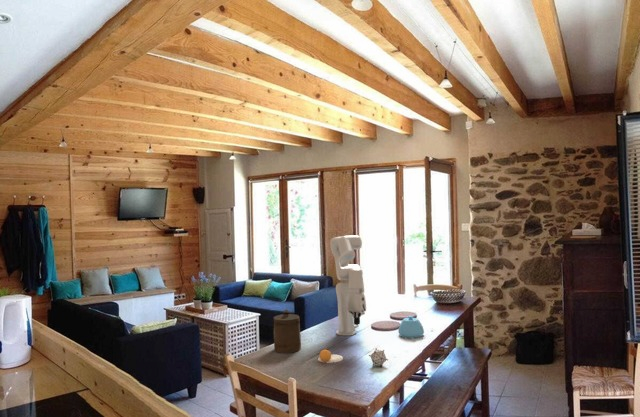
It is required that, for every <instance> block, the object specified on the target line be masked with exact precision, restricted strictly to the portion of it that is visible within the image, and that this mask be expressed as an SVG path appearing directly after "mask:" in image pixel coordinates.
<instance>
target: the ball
mask: <svg viewBox="0 0 640 417" xmlns="http://www.w3.org/2000/svg"><path fill="white" fill-rule="evenodd" d="M331 354H332V353H331V351H330V350H329V349H323V350H321V351H320V352H319V356H318V357H320V359H321V360H322V361H323V362H322V363H325V362H327V361H329V360H330V359H331Z"/></svg>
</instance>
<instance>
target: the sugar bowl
mask: <svg viewBox="0 0 640 417" xmlns="http://www.w3.org/2000/svg"><path fill="white" fill-rule="evenodd" d="M424 333H425V330H424V326H423V325H422V322H421V321H420V320H419V318H416V317H414V315H408V316H407V317H404V318H403V319H402V321H400V323H399V326H398V334H399V336H400V337H402V338H405V339H406V338H407V339H418V338H422V336H423V335H424Z"/></svg>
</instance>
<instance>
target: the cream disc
mask: <svg viewBox="0 0 640 417" xmlns="http://www.w3.org/2000/svg"><path fill="white" fill-rule="evenodd" d="M343 359H344V358H343V356H342V355H339V354H332V353H331V359H330V360H329V361H327V362H326V363H325V364H332V363H333V362H334V363H338V362H341V361H343ZM317 361H319V362H321V363H324V362H323V361H322V360H321V359H320V356H318V358H317Z"/></svg>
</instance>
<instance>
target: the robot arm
mask: <svg viewBox="0 0 640 417" xmlns="http://www.w3.org/2000/svg"><path fill="white" fill-rule="evenodd" d="M329 241H330V242H329V247H330V251H331V253H332V256H333V259H334V261H335V262H334V263H335V264H334V265H335V272H336V277H337V279H338V280H339V281H341V282H338V283H336V285H335V293H336V298H337V299H336V300H337V317H338V323H337V324H338V330H336V331H335V332H336V334H337V335H339V336H346V337H347V336H353V335H355V334H357V333H358V331H357V330H356V329H357V328H359V326H360V324H361V317H362V316H364V315H365V314H366V311H367V303H366V296H365V285H364V284H365V283H364V277H363V276H364V274H363V273H364V272H363V269H362V267H361V266H360V265H359V264H350V262H351V261H353V260H354V259H355V257H356V253H355V250H360V249H362V247H363V246H362V244H363V242H362V238H361V236H359V235H354V234H353V235H343V236H336V237H335V236H334V237H332V238H331V239H330V240H329Z"/></svg>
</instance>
